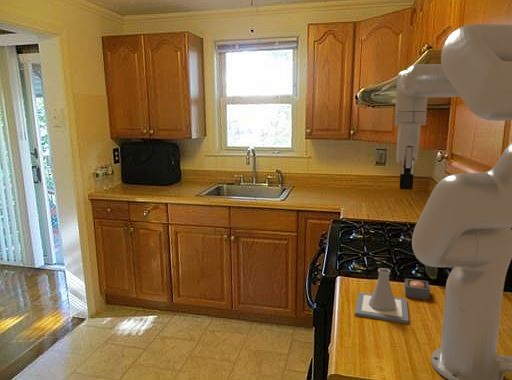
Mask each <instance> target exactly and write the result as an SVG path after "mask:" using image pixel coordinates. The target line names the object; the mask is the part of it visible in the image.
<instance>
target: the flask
mask: <svg viewBox="0 0 512 380" xmlns="http://www.w3.org/2000/svg"><path fill="white" fill-rule="evenodd" d="M377 272H378V277H377V278H378V279H377V283H376V285H375V287H374V290H373V293H371V294H372V297H371V299H370V301H369V304H370V305H371V307H372V308H374V309H379V310H383V311H388V310H395V308H396V302H395V299H394V297H395V296H394V294H393V290H392V287H391V283H390V274H391V270H390V269H389V268H382V267H381V268H380V267H379V268H378V269H377Z"/></svg>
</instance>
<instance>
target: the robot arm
mask: <svg viewBox="0 0 512 380" xmlns="http://www.w3.org/2000/svg"><path fill="white" fill-rule="evenodd" d="M440 63H441V64H439V63H431V64H429V63H428V64H427V63H425V64H424V63H419V64H413V65H411V66H409V67H408V68H407V69H406V70H403V71H400V72H399V73H398V75H397V77H396V78H397V79H396V92H395V93H396V96H395V113H394V126H398V129H397V131H398V132H397V138H396V139H397V140H396V142H397V143H396V157H395V158H396V160H395V161H396V163H397V164H400V162H401V171H400V175H399V190H404V191H405V190H408V191H411V190H413V187H414V165H415V164H416V163H417V162H418V156H419V148H420V138H421V126H426V124H427V123H426V122H427V108H428V98H456V97H460V98H461V100H462V101H463V103H464V104H465V106H466V107H467V108H468V109H469V111H470V112H471V113H472V114H473V115H475V116H476V117H478V118H480V119H483V120H486V121H494V122H495V121H496V122H497V121H498V122H501V121H503V122H505V121H508V122H509V121H511V122H512V24H491V23H489V24H488V23H487V24H486V23H483V24H482V23H481V24H479V23H477V24H476V23H471V24H466V25H462V26H461V27H459V28H457V29H456V30H454V31H453V32H452V33H451V34H450V35H449V36H448V38H447V39H446V40H445V43H444V45H443V47H442V49H441V55H440ZM411 245H412V247H411V248H412V250H413V254H414V256H415V258H416V259H417V260H418V261H419V262H420V263H422V264H423V265H424V266H425V265H427V266H431V267H437V268H451V271H450V272H449V274H448V277H447V279H446V284H445V292H444V294H445V295H444V303H443V304H444V306H443V316H442V329H441V341H440V347H438V348H436V349H435V350H434V351H432V354H431V364H432V366H433V368H434V369H435V371H437V372H438V373H439V374H440V376H442V377H443V378H445V379H447V380H504V374H505V373H506V372H508V373H512V356H509V355H508V356H507V355H500V354H499V353H498V352H497V347H498V338H499V328H500V319H501V311H502V303H503V293H504V287H505V281H506V276H507V273H508V269H509V266H510V264H511V260H512V142H511V143H509V145H508V146H507V147H506V148H505V149H504V150H503V152H502V153H501V155H500V157H499V159H498V160H497V162H496V163H495V164H494V166H493V167H492V168H491V169H490V170H487V171H484V172H469V173H468V172H464V173H461V172H460V173H455V174H449V175H448V176H446V177H444V178H442V179H441V180H440V181H438V183H436V184H435V186H434V188H433V189H432V191H431V193H430V196H429V197H428V199H427V201H426V203H425V205H424V208H423V210H422V211H421V213H420V215H419V218H418V220H417V222H416V224H415V225H414V229H413V233H412V238H411Z"/></svg>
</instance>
